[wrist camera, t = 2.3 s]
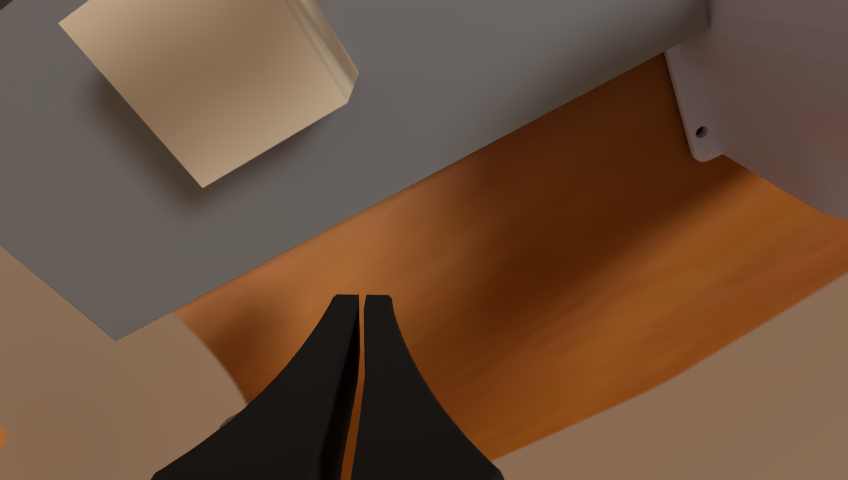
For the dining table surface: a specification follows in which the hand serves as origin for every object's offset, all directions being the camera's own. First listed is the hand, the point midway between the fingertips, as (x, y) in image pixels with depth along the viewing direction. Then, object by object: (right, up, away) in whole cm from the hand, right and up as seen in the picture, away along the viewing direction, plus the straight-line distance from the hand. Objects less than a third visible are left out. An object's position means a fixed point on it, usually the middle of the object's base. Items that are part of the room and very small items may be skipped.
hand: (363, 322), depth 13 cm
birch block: (-4, +9, +2) cm, 10 cm away
